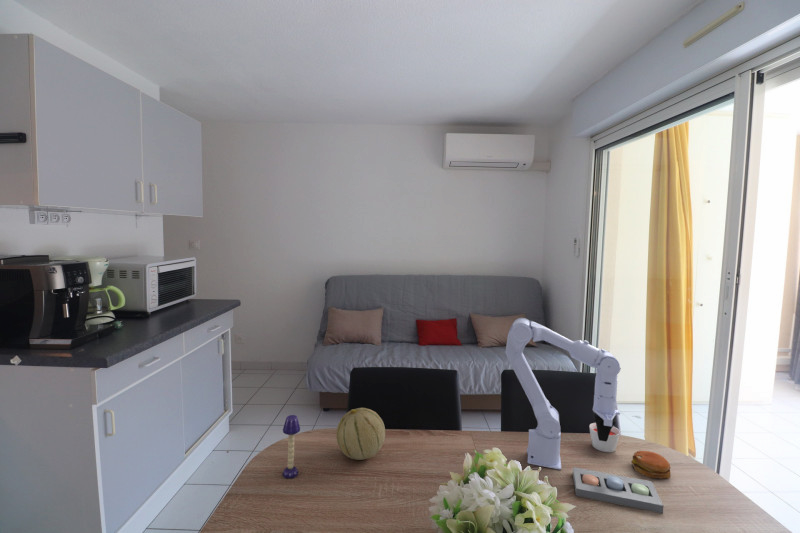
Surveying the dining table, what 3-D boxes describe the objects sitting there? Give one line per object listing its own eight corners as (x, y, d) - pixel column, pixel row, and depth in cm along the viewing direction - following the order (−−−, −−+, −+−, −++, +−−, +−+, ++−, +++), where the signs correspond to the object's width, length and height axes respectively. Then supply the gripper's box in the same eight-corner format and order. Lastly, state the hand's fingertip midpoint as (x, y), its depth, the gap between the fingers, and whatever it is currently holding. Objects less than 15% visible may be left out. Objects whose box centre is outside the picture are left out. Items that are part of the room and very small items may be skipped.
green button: (632, 497, 107) (633, 490, 107) (629, 489, 111) (630, 482, 111) (650, 501, 106) (650, 493, 106) (646, 492, 110) (646, 485, 110)
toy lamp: (303, 472, 115) (303, 415, 114) (292, 481, 111) (292, 421, 110) (289, 468, 117) (290, 411, 116) (278, 476, 113) (278, 418, 112)
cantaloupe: (393, 460, 123) (395, 412, 122) (350, 475, 115) (351, 423, 114) (369, 440, 135) (370, 395, 134) (327, 452, 127) (328, 404, 126)
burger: (677, 477, 119) (678, 461, 118) (653, 483, 116) (654, 466, 115) (647, 460, 128) (648, 445, 128) (624, 464, 125) (625, 449, 125)
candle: (624, 455, 130) (625, 435, 130) (596, 454, 130) (597, 434, 130) (610, 441, 139) (611, 423, 139) (583, 440, 139) (584, 422, 139)
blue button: (607, 490, 109) (608, 483, 109) (605, 482, 113) (605, 475, 113) (624, 493, 108) (624, 486, 108) (621, 485, 112) (621, 478, 112)
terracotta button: (582, 488, 111) (583, 480, 111) (581, 480, 115) (581, 473, 115) (599, 491, 110) (599, 484, 110) (597, 483, 114) (597, 476, 113)
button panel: (576, 495, 108) (576, 488, 108) (572, 473, 119) (572, 466, 119) (662, 513, 102) (663, 505, 102) (651, 488, 113) (651, 481, 112)
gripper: (625, 405, 111) (622, 454, 112) (616, 388, 125) (613, 431, 126) (597, 402, 113) (594, 449, 114) (590, 384, 127) (588, 427, 128)
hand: (602, 440), depth 120 cm, fingers closed
